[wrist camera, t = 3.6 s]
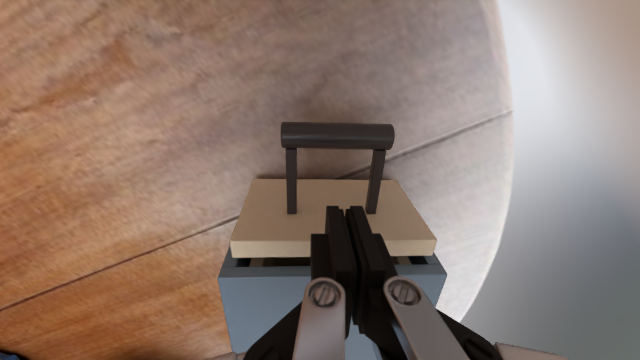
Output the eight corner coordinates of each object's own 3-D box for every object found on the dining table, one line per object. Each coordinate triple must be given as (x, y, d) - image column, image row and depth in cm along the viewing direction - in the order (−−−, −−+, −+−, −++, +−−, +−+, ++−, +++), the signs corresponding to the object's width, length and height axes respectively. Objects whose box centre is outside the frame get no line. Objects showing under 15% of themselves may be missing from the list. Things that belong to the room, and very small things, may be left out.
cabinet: (249, 191, 22) (217, 278, 14) (396, 192, 22) (448, 274, 14) (261, 312, 29) (245, 416, 21) (372, 309, 30) (398, 408, 22)
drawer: (246, 103, 17) (212, 137, 11) (410, 108, 18) (469, 142, 12) (264, 303, 27) (251, 385, 20) (372, 300, 27) (393, 378, 21)
